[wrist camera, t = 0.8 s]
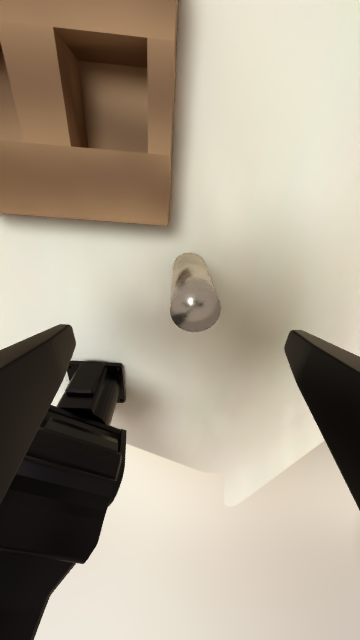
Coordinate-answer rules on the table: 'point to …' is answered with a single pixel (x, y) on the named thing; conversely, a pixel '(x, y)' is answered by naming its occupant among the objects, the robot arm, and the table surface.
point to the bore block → (87, 108)
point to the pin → (193, 294)
